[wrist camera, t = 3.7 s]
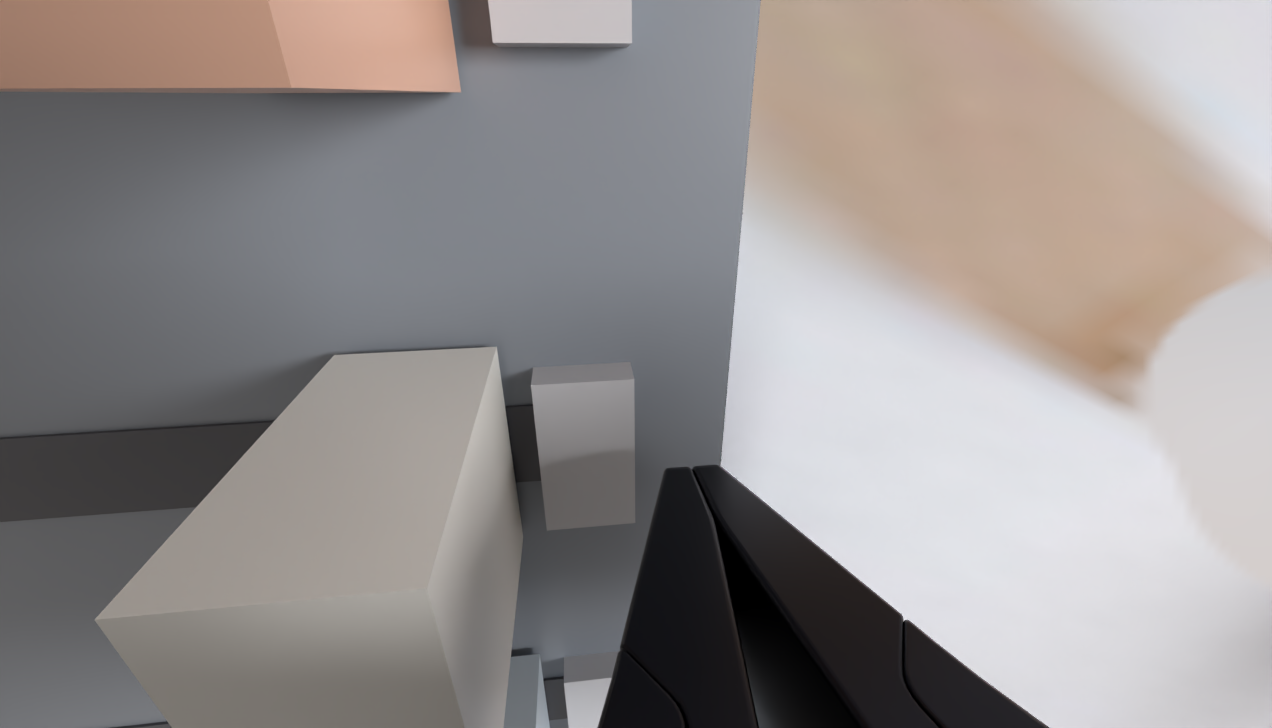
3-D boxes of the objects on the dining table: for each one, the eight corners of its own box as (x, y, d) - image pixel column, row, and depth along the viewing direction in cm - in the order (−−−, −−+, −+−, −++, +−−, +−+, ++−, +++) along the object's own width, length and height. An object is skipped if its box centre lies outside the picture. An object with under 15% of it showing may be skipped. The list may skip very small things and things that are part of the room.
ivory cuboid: (496, 346, 8) (427, 587, 4) (522, 537, 10) (492, 831, 6) (333, 354, 8) (93, 619, 4) (391, 548, 10) (269, 862, 6)
